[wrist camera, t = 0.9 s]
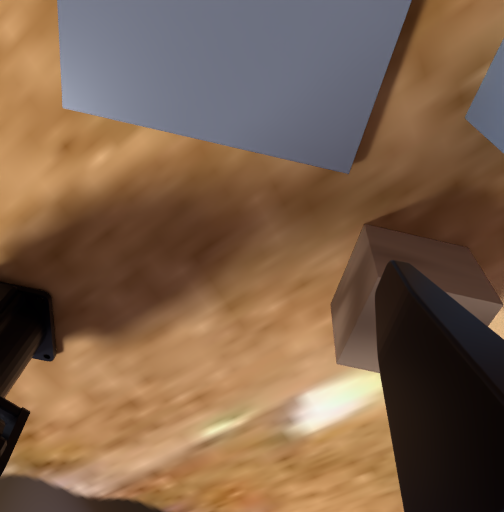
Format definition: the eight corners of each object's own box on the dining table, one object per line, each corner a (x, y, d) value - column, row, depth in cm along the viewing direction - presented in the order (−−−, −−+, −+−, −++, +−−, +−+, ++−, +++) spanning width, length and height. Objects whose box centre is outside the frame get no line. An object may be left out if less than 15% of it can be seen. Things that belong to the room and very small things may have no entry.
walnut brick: (421, 323, 27) (443, 386, 23) (330, 303, 27) (336, 363, 23) (467, 246, 24) (503, 304, 20) (363, 222, 24) (378, 276, 19)
